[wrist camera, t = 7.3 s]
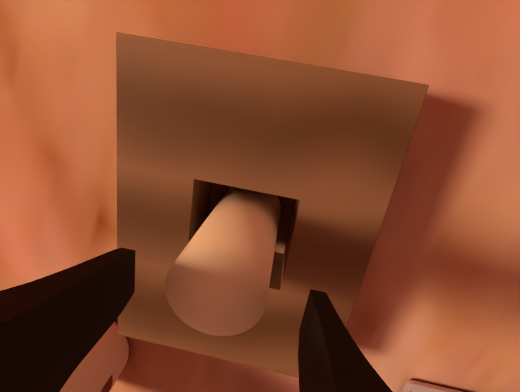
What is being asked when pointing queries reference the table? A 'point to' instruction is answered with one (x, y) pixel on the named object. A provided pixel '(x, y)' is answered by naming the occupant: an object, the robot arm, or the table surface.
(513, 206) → the table surface
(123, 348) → the milk bottle
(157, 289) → the walnut holder
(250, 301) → the cream peg
